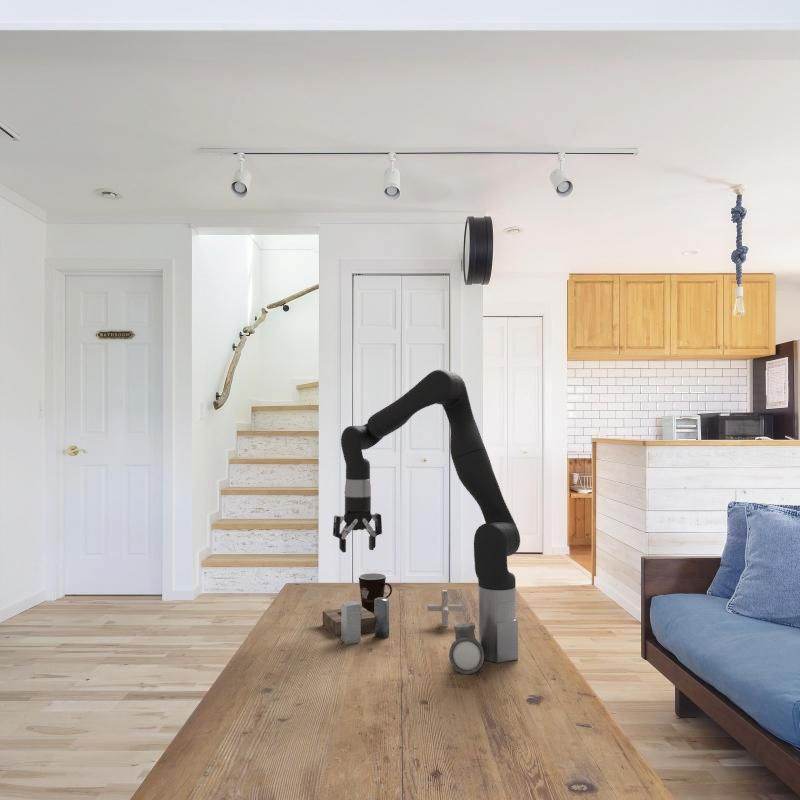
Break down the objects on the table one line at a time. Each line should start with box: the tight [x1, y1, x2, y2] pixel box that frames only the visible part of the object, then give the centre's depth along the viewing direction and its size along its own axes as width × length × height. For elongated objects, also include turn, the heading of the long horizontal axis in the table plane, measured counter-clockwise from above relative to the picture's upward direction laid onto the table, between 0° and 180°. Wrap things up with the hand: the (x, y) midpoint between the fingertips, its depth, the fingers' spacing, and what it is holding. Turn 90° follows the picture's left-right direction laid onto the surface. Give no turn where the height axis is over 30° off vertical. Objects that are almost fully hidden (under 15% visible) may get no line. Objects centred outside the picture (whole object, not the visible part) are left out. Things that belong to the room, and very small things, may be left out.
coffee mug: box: [358, 572, 393, 612], centre depth 203 cm, size 12×9×10 cm
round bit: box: [373, 596, 390, 640], centre depth 178 cm, size 4×4×10 cm
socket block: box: [322, 605, 375, 638], centre depth 185 cm, size 12×12×4 cm
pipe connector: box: [427, 589, 464, 628], centre depth 186 cm, size 10×10×10 cm
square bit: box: [340, 600, 362, 645], centre depth 174 cm, size 4×4×10 cm
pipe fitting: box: [448, 622, 485, 675], centre depth 156 cm, size 12×8×10 cm
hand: (357, 550), depth 188 cm, fingers open, 8 cm apart
